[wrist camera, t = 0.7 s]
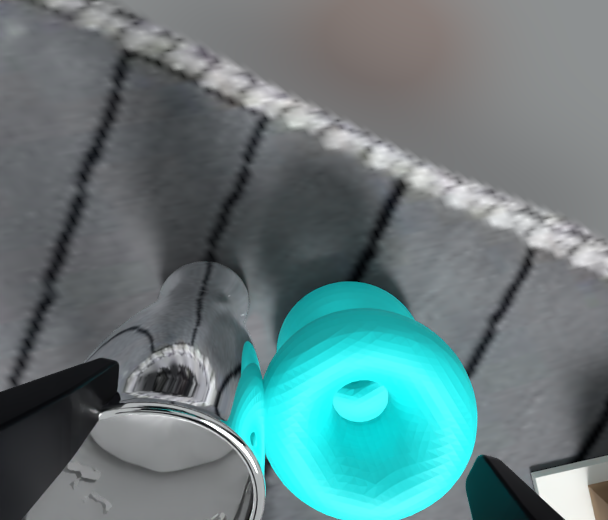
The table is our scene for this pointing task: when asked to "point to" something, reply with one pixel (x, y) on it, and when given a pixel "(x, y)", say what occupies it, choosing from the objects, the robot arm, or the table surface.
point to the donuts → (365, 406)
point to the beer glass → (174, 413)
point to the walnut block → (599, 499)
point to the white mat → (571, 487)
